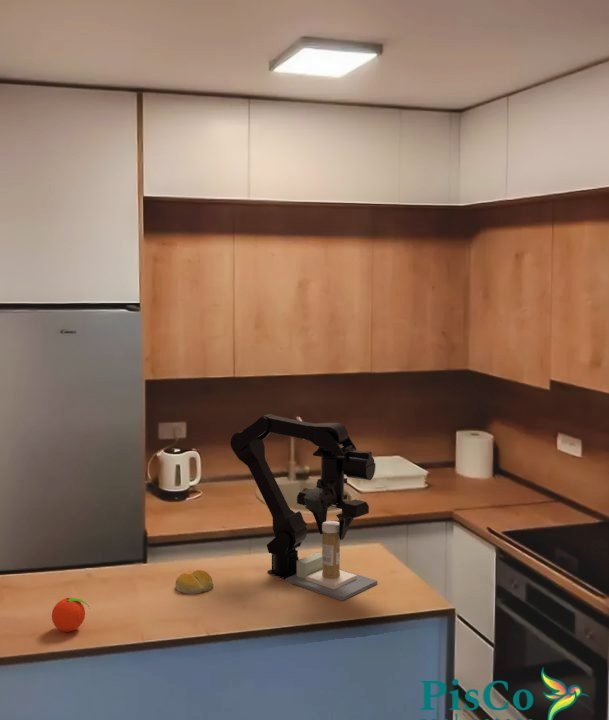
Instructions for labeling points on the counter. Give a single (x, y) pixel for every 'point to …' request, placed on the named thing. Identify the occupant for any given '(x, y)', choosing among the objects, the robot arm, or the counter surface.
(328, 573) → the sprinkles bottle
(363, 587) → the board
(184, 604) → the counter surface
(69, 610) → the clementine
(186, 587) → the bread roll
